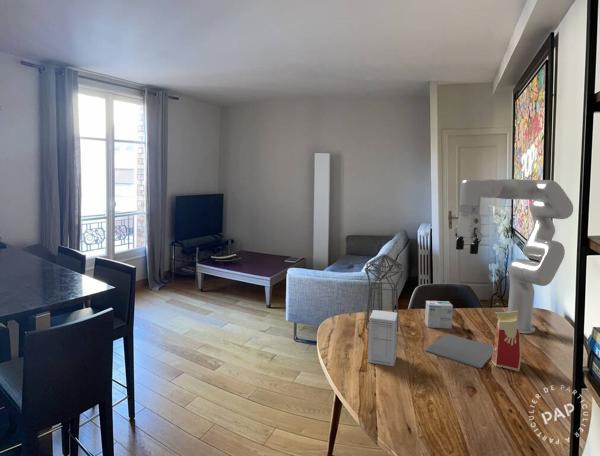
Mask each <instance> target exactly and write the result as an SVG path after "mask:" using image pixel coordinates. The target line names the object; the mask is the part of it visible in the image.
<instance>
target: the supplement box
mask: <svg viewBox="0 0 600 456" xmlns="http://www.w3.org/2000/svg"><path fill="white" fill-rule="evenodd" d="M372 310H373V309H372ZM397 316H398V317H399V312H398V313H396V312H395V311H394V312H392V311H387V310H377V309H374V310H373V311H372V314H371V316H370V315H369V322H368V328H369V331H368V339H367V340H368V345H367V346H368V349H367V351H368V352H367V363H369V364H370V363H371V364H376V365H383V366H389V367H394V366H395V363H396V359H397V351H398V350H397V348H398V347H397V343H398V332H397Z"/></svg>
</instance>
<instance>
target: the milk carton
mask: <svg viewBox="0 0 600 456" xmlns="http://www.w3.org/2000/svg"><path fill="white" fill-rule="evenodd" d="M517 313H518V311H512V312H508V311H507V312H505V311H504V312H494V314H495V315H496V317H497V319H498V320H497V324H496V327H495V329H496V330H495V336H494V342H493V346H494V349H493V354H492V357H491V358H490V359H491V360H490V362H491V361H492V362H491V363H492V364H493V365H494V367H496V366H497V368H502V367H503V369H508V370H512V371H515V372H520V368H521V360H522V343H521V333H519V328H518V324H517Z"/></svg>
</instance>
